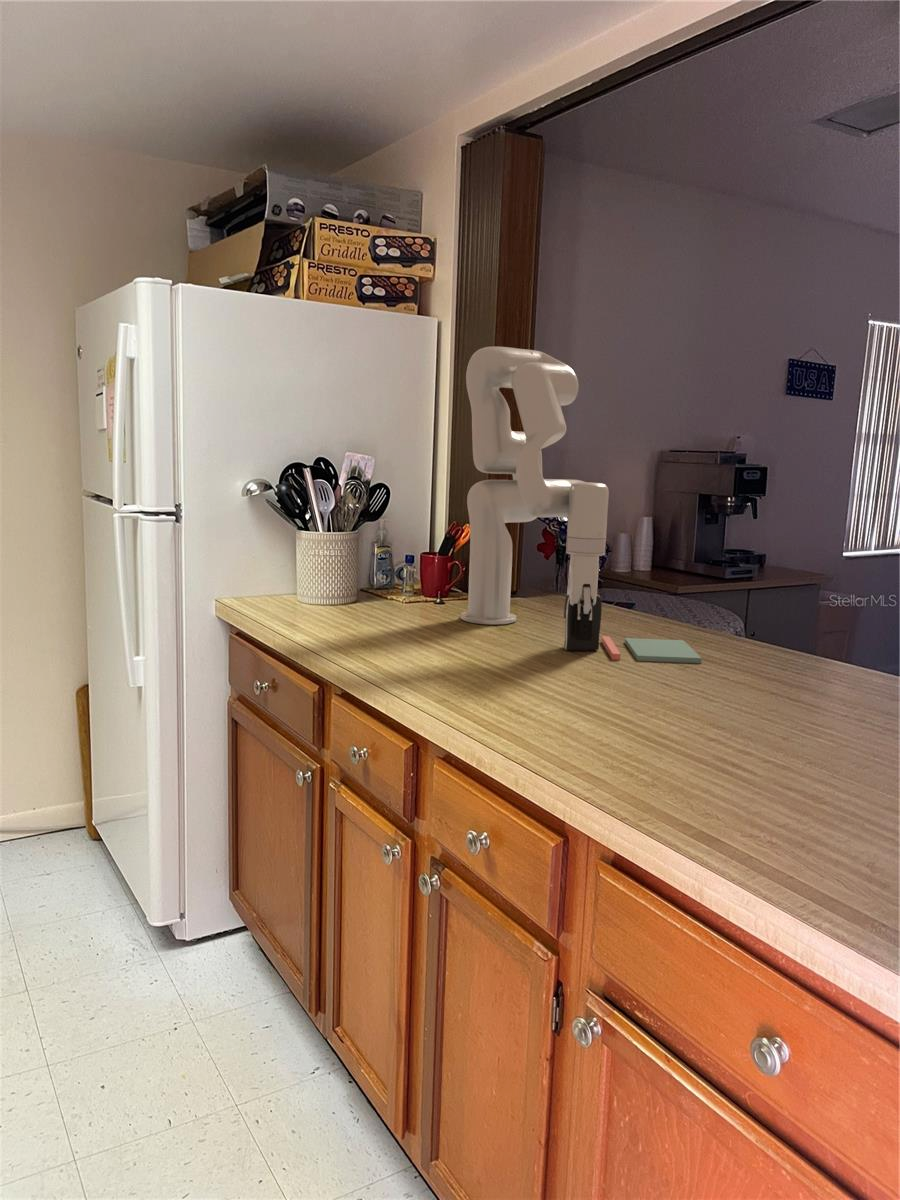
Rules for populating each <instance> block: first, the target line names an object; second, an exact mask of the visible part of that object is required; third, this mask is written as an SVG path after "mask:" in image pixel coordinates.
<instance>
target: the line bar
mask: <svg viewBox="0 0 900 1200" xmlns="http://www.w3.org/2000/svg"><path fill="white" fill-rule="evenodd" d="M601 644H602V645H603V647H604V648H605V651H606V652H607V654H608V655H609V657H610V659H611V660H612V661H620V660H621V653H620V651H619V649H618V648H617V645H615V643H614V641H613V640H612V638H611V637H610V636H609V635H607V636H606V635H602V636H601Z"/></svg>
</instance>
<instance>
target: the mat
mask: <svg viewBox="0 0 900 1200" xmlns="http://www.w3.org/2000/svg"><path fill="white" fill-rule="evenodd" d="M624 644H625V646H626V647H627V648H628V650H629V652H630V653H631V654H632V655H633V657H634V658H635V659H636V661H638V662H659V663H661V662H662V663H663V662H664V663H682V664H683V663H684V664H685V663H686V664H688V663H689V664H702V660H703V658H702V656H700V655H699V654H698V653H697V652H696V650H694V649H693V648H692V647H691V646H690V645H689V644H688V643H687V642H686V641H685V640H684V639H661V638H660V639H659V638H658V639H657V638H635V637H633V638H632V637H625V638H624Z"/></svg>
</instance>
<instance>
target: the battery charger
mask: <svg viewBox="0 0 900 1200" xmlns="http://www.w3.org/2000/svg"><path fill="white" fill-rule="evenodd" d="M582 593H583V592H582ZM592 601H593V599H592ZM580 604H583V602H580ZM602 605H603V603H602V598H601V596H600V595H599V594H597V597H596V604H595V605H594V606H593V607H592V620H593V621H592V638H591V640H590V641H582V640H575V621H576V619H577V604H574V606H572V605H571V604H570V598H569V594H568V595H567V594H566V597H565V600H564V610H563V618H564V619H565V637H564V638H565V639H564V649H565V650H566V651H571V652H583V651H584V652H589V651H599V645H600V644H599V643H600V631H601V621H602V612H603V608H602ZM581 609H582V608H581Z"/></svg>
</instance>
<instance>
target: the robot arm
mask: <svg viewBox="0 0 900 1200" xmlns="http://www.w3.org/2000/svg"><path fill="white" fill-rule="evenodd" d="M465 383H466V390H467V394H468V399H469V402H470V408H471V410H470V411H471V434H472V435H471V436H472V437H471V438H472V439H471V441H472V442H471V443H472V457H473V459H472V460H473V464H474V467H475V468H476V470H478V471H479V472H481V473H485V474H498V475H502V474H503V475H505V474H506V475H512V479H484V480H481V481H478V482H476V483H474V485H472V486H471V487H470V489H469V491H468V493H467V498H466V504H467V511H468V519H469V532H470V533H469V534H470V535H469V536H470V537H469V538H470V539H469V541H470V542H469V567H468V568H469V569H468V570H469V573H468V574H469V575H468V593H467V594H468V599H467V602H468V603H467V610H466V611H463V612H461V613H460V619H461V620H463V621H465V622H467V623H471V624H480V625H492V626H493V625H494V626H495V625H496V626H497V625H508V624H512V623H515V622H516V621H517V615H516V614H514V613H512V612H510V611H511V590H512V567H513V540H512V536H511V534H510V532H509V530H508V528H507V526H506V524H507V523H528V522H532V521H534V520H536V519H537V518H567V527H566V528H567V531H566V544H565V547H566V549H565V553H566V554H567V555H570V558H569V565H568V566H569V569H568V581H567V593H566V596H567V595H568V594H569V598H570V604H571V605H572V606H574V604H577V619H576V621H575V640H582V641H590V640H591V638H592V621H593V620H592V607H593V606H594V605H595V604H596V597H597V595H598V583H599V582H598V581H599V568H600V567H599V566H600V564H599V563H600V557H602V556H605V555H606V543H607V525H608V509H609V487H608V486H607V485H606V484H605V483H601V482H591V481H590V482H586V481H584V480H579V479H561V478H559V479H558V478H556V479H555V478H544V476H543V454H542V453H543V452H542V449H545V448H547V447H549V446H551V445H553V444H555V443H557V442H559V440H561V439H562V438H563V437H564V436H565V435H566V433H567V424H566V420H565V416H564V413H563V411H562V406H568V405H570V404H573V402H574V401H575V400H576V399H577V396H578V392H579V386H580V385H579V379H578V377H577V375H576V373H575V371H574V370H573V369H572V368H571V367H570V366H569V365H567V364H566V363H564V362H562V361H560V360H559V359H556V358H555V357H553V356H551V355H549V354H547V353H545V352H543V351H540V350H535V349H534V350H533V349H527V348H526V349H525V348H524V349H523V348H518V347H517V348H516V347H508V346H485V347H482V348H479V349H478V350H476V351H475V352H473V354H472V355H471V357H470V359H469V360H468V364H467V368H466V373H465ZM500 388H505V389H512V391H513V395H514V398H515V402H516V406H517V410H518V413H519V417H520V420H521V424H522V428H523V431H518V430H517V431H513V430H512V426H511V410H510V407H509V405H508V404H509V403H508V402H507V399H505V397H504V395H503V394H502V392H501V391H500ZM582 592H583V593H582ZM592 599H593V601H592ZM580 602H583V604H580ZM581 608H582V609H581Z"/></svg>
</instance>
